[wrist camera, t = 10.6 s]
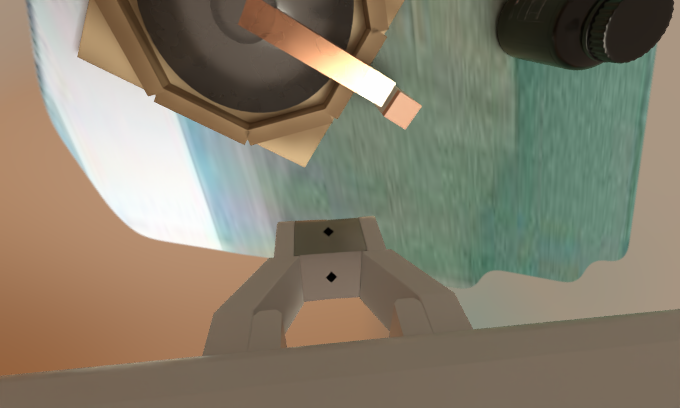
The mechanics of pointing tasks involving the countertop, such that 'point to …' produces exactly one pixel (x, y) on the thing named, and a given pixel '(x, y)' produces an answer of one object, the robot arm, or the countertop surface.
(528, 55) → the supplement bottle
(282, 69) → the dial
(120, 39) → the dial housing
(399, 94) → the post
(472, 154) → the countertop surface
